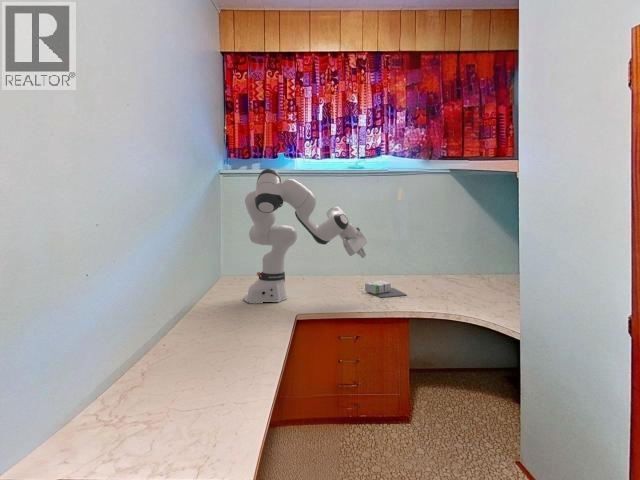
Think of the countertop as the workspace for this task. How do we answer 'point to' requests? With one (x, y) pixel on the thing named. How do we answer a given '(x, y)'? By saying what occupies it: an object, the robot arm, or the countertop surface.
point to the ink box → (377, 287)
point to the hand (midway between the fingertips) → (364, 256)
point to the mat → (391, 293)
